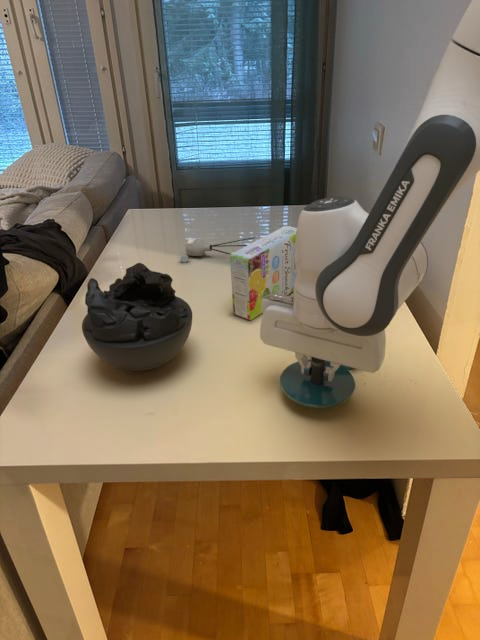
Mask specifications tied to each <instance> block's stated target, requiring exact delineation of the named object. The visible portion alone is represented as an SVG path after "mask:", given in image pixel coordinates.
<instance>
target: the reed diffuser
mask: <svg viewBox="0 0 480 640" xmlns="http://www.w3.org/2000/svg"><path fill="white" fill-rule="evenodd" d="M253 239H256V237H255V236H254V237H253V236H252V237H248V238H244V239H238V240H233V241H228V242H223V243H218V244H217V243H216V244H213V245H212V244H211V243H210V244H209V243H207V244H206V243H205V241H204V240H203V239H201V238H189V239H187V240H186V243H185V252H186V254H182V255H181V256H180V262H182V263H187V262H188V261H189V256H190V257H191V256H192V257H201V256H203V255H204V254H205V253H206V252H212V251H214V252H219V253H223V254H226V255H229V256H230V254H231V253H230V252H227V251H222V250H220V249H219V250H218V249H215V248H216V247H217V248H218V247H219V248H220V247H221V248H222V247H245V246H247V245H248V244H233V245H232V243H236V242H241V241H242V242H243V241H248V240H253ZM226 244H227V245H226ZM228 244H231V245H228Z"/></svg>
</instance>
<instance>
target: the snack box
mask: <svg viewBox="0 0 480 640" xmlns="http://www.w3.org/2000/svg"><path fill="white" fill-rule="evenodd" d="M296 230H297V227H294V226H290V225H284V226H282V227H280V228H278V229H276V230H275V231H272V232H271V233H269V234H266V235H264V236H263V237H260V238H258V239H257V240H254V241H253V242H251V243H249V244H246V245H247V246H242V247H241V248H239V249H237V250H235V251H234V252H231V253H230V255H229V263H230V265H229V266H230V279H231V280H230V281H231V292H232V293H231V296H232V297H231V298H232V313H233V316H237V317H240V318H243V319H245V320H248V321H252V320H254V319H255V318H256V317H258V316H259V315H262V314H263V313H262V310H261V301H262V298H263V297H264V296H265V295H269V294H270V293H276V294H278V295H283V296H289V295H290V294H293V293H294V281H295V278H296V275H297V268H296V264H295V258H294V257H295V239H296ZM268 298H269V297H268Z"/></svg>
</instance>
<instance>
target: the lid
mask: <svg viewBox="0 0 480 640" xmlns="http://www.w3.org/2000/svg"><path fill="white" fill-rule="evenodd" d="M308 360H309V362H311V374H310V376H309V375H305V374H302V373H301V365H300V364H299V362H298V361H295V362H293V363H291V364H289V365H288V366H286V367H285V369H284V370H283V371H282V372H281V374H280V377H279V385H280V389H281V390H282V392H283V394H284V395H285V396H286V397H287V398H288V399H290V400H291V401H293V402H295V403H296V404H298V405H301V406H305V407H309V408H317V409H324V408H333V407H337V406H339V405H342V404H344V403H346V402H347V401H349V400H350V399H351V398H352V397H353V395H354V393H355V391H356V379H355V378H354V375H353V374H352V373H351V371H350V370H347V369H346V368H344V367H343V366H341V365H340V366H339V368H338V369H337V370H336V371H335V374H334V378H333V380H332V382H330V381H326V380H323V371H324V370H325V368H326V367H332V366H330V361H326V360H322V359H318V358H315V357H311V358H308Z"/></svg>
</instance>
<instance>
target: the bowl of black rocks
mask: <svg viewBox="0 0 480 640" xmlns="http://www.w3.org/2000/svg"><path fill="white" fill-rule="evenodd" d="M173 281H174V280H173V278H172V277H171V275H170V274H168V273H163V272H159V271H154V270H151V269H150V268H148V266H146V265H145V264H144V263H141V262H137V263H135V264H133V265H132V266H129V267H126V268H125V275H123V277H122V278H120V277H118V278H116V279H115V281H114V282H113V283H111V284H110V285H109V287H108V288H109V290H101V287H100V286H99V285H100V284H99V282H98V280H97V279H96V278H93V277H91V278H89V280H88V282H87V285H86V289H87V291H86V293H85V297H84V300H85V301H84V303H85V305H86V307H87V308H86V309H87V311H86V312H87V313H86V315H85V316H84V318H83V320H82V323H81V330H82V334H83V337H84V339H85V341H86V343H87V345H88V347H89V348H90V349H91V351H92V352H93V353H94V354H95V356H97V357H98V358H99V359H101V360H102V361H103V362H104V363H106V364H108V365H110V366H112V367H114V368H115V369H119V370H123V371H129V372H144V371H151V370H154V369H157V368H159V367H162V366H163V365H165V364H167V363H168V362H170V361H171V360H172V359H174V358H175V357H176V356H177V355H178V354H179V353H180V352H181V351H182V349H183V348H184V347H185V345H186V342H187V341H188V338H189V336H190V333H191V330H192V325H193V311H192V308H191V306H190V305H189V303H188V302H186V301H185V300H184V299H183V298H181V297H179V296H176V290H175V289H174V288H173V287H172V283H173Z"/></svg>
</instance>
